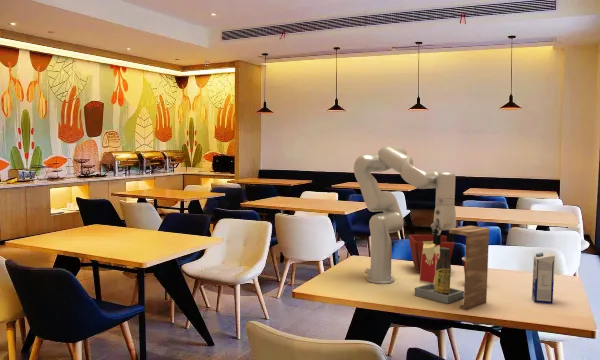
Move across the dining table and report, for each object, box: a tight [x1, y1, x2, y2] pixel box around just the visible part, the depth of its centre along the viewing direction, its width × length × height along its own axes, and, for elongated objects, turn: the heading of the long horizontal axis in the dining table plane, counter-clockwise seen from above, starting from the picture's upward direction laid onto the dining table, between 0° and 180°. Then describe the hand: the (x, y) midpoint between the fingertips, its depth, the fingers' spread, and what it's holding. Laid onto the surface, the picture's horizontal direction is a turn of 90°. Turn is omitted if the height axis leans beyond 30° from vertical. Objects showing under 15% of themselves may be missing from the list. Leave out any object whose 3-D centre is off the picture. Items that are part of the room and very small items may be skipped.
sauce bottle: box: [434, 247, 452, 295], centre depth 216 cm, size 7×6×20 cm
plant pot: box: [408, 234, 455, 274], centre depth 262 cm, size 19×19×17 cm
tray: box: [413, 283, 464, 305], centre depth 217 cm, size 16×12×3 cm
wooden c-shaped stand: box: [449, 225, 490, 311], centre depth 207 cm, size 9×15×30 cm, turn 132°
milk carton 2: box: [531, 252, 556, 305], centre depth 213 cm, size 7×7×20 cm
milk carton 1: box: [419, 241, 440, 284], centre depth 242 cm, size 9×9×20 cm
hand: (443, 243), depth 215 cm, fingers open, 9 cm apart
